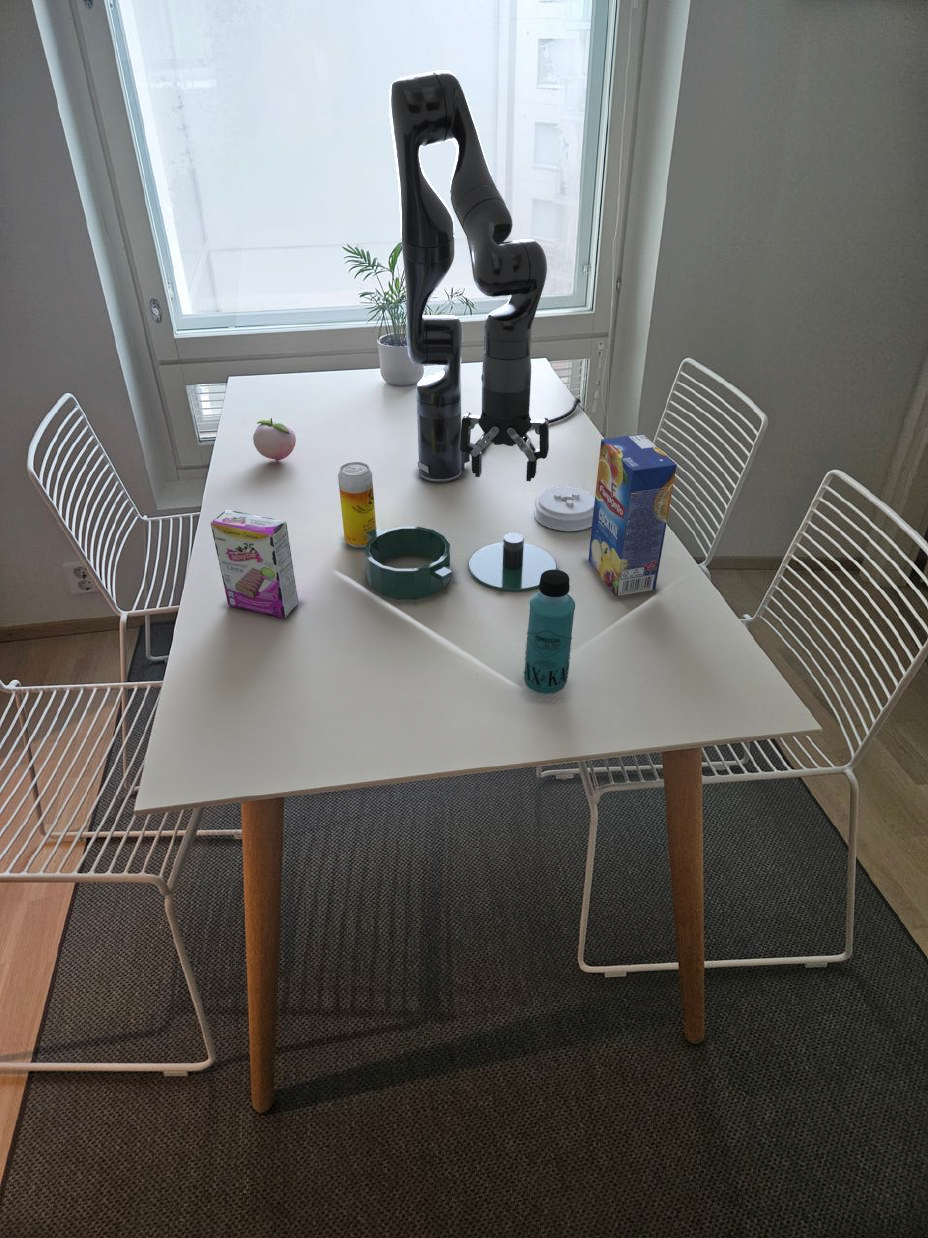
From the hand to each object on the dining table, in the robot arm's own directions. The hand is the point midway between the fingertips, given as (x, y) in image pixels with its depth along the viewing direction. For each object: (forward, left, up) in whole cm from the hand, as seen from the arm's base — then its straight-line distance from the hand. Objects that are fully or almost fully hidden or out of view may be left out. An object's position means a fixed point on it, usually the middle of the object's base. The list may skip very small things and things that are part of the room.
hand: (503, 477), depth 134 cm
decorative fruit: (+4, -65, -18) cm, 68 cm away
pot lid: (-1, +2, -18) cm, 18 cm away
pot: (+14, -9, -18) cm, 25 cm away
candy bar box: (+37, -20, -18) cm, 46 cm away
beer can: (+12, -25, -18) cm, 33 cm away
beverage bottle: (+19, +27, -18) cm, 37 cm away
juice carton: (-13, +17, -18) cm, 28 cm away
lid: (-22, -3, -18) cm, 29 cm away
